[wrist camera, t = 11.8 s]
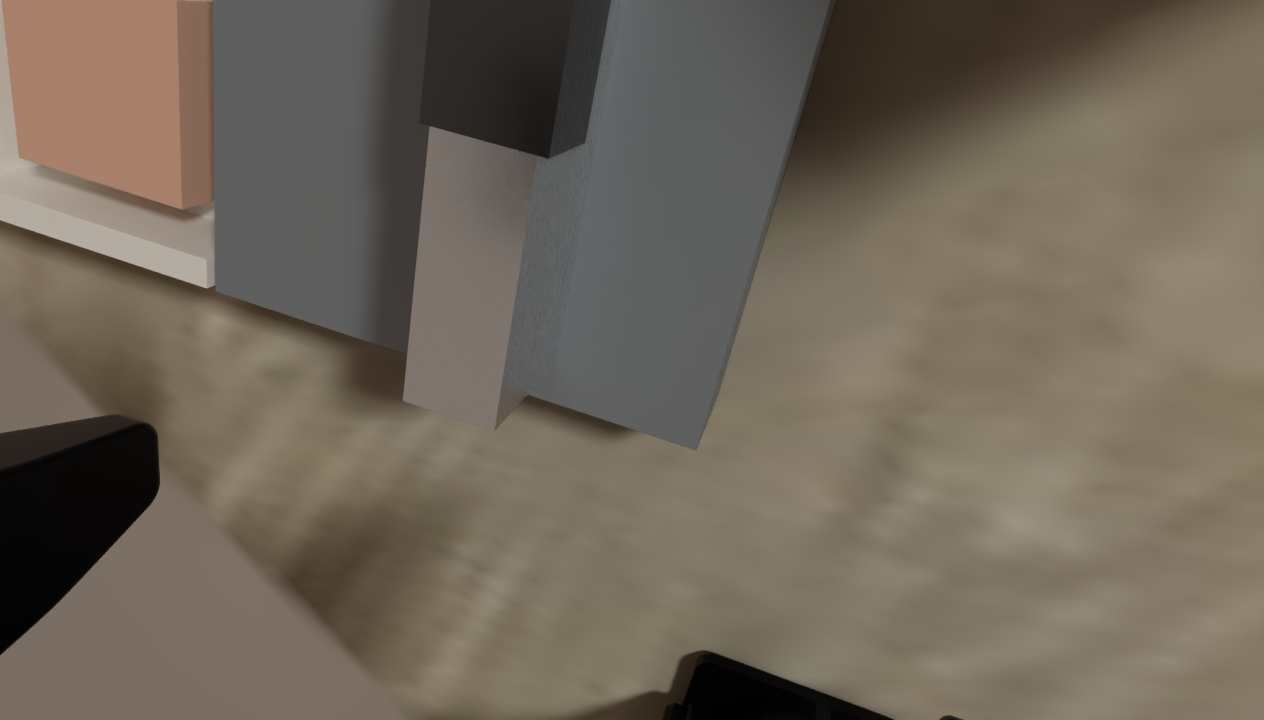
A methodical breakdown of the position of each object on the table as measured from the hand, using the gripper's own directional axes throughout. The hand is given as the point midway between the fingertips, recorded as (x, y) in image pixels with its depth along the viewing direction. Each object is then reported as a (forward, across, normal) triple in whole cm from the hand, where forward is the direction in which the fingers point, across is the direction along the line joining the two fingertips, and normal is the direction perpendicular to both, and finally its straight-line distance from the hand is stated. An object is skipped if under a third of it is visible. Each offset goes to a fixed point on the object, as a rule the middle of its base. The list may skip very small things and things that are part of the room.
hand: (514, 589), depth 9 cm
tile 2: (+12, +16, -1) cm, 20 cm away
